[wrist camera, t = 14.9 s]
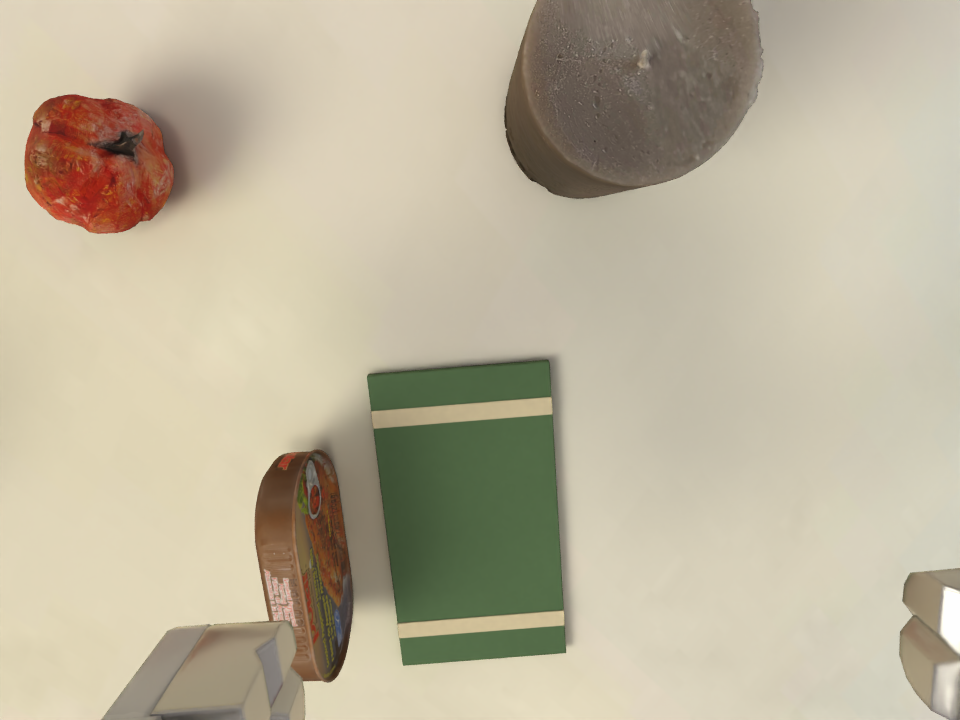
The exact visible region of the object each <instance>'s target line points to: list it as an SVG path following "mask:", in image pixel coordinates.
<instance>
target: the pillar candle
mask: <svg viewBox="0 0 960 720" xmlns="http://www.w3.org/2000/svg"><path fill="white" fill-rule="evenodd" d="M758 23H759V17H758V12H756V11H755V10H754V9H753V7H752V4H751V0H537V2H536V4H535V7H534V9H533V11H532V14H531V16H530V19H529V22H528V25H527V28H526V31H525V34H524V37H523V40H522V43H521V46H520V50H519V53H518V57H517V59H516V63H515V66H514V70H513V73H512V76H511V80H510V83H509V89H508V94H507V97H506V106H505V115H504V122H505V128H506V129H507V130H506V138H507V142H508V144H509V147H510V150H511V153H512V155H513V157H514V159H515V160H516V162H517V164H518V166H519V167H520V168H521V170H522V171H523V172H524V173H525V174H526V176H527V177H528V178H529V179H530V180H531V181H534V182H537V183H538V184H540V185H541V186H544V187H545V188H547V189H548V191H549V192H551V193H553V194H556V195H560V196H563V197H568V198H576V199H583V198H593V197H599V196H604V195H609V194H614V193H618V192H623V191H627V190H632V189H637V188H641V187H646V186H650V185H656V184H659V183H663V182H667V181H670V180H673V179H676V178H679V177H681V176H683V175H685V174H687V173H688V172H690V171H692V170H693V169H695V168H697V167H699V166H700V165H702V164H703V163H704V162H706V161H707V160H709V159H710V158H711V157H712V156H713V155H714V154H715V153H716V152H718V151H719V150H720V149H721V148H722V146H724V145H725V144H726V143H727V141H728V140H729V139H730V137H731V136H732V135H733V134H734V132H735V131H736V129H737V128H738V126H739V125H740V123H741V122H742V120H743V118H744V116H745V114H746V113H747V111H748V109H749V108H750V107H751V106H752V104H753V103H754V102H755V100H756V98H757V93H758V90H757V85H758V84H759V83H760V80H761V78H762V71H763V67H764V66H763V60H762V58H761V55H762V53H763V49H762V47H761V44H760V43H761V40H760V36H759V24H758Z"/></svg>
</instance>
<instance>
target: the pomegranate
mask: <svg viewBox="0 0 960 720" xmlns="http://www.w3.org/2000/svg"><path fill="white" fill-rule="evenodd" d="M173 176H174V169H173V166H172V164H171V162H170V160H169V159H168V157H167V156H166V154H165V152H164V146H163V139H162V134H161V131H160V129H159V127H158V126H157V125H156V124H155V123H154V121H153V120H152V119H151V118H150V117H149V116H148V115H147V114H146V113H144V112H143V111H141V110H140V109H138V108H137V107H135V106H134V105H131V104H128V103H124V102H122V101H119V100H117V99H110V98H108V99H104V100H103V99H93V98H88V97H84V96H80V95H64V96H58V97H56V98H51V99H49V100H47V101H45V102H44V103H43V104H42V105H41V106H40V107H39V108H38V109H37V110H36V112H35V113H34V116H33V126H32V129H31V131H30V134H29V137H28V139H27V144H26V150H25V180H26V187H27V189H28V191H29V192H30V194H31V195H32V197H33V198H34V199H35V200H36V201H37V203H38V204H39V205H40V206H41V207H43V209H45V210H47V211H48V213H49V214H50V215H52V216H53V217H54V218H55V219H57V220H62V221H65V222H67V223H71V224H76V225H78V226H81V227H83V228H85V229H86V230H87V231H89V232H92V233H98V234H100V233H118V232H123V231H126V230H129V229H131V228H132V227H134V226H136V224H138V223H139V222H140V221H150V220H151V219H152V218H153V217H154V216H155V215H156V214H157V213H158V212H159V211H160V210H161V209H162V208H163V206H164V205H165V203H166V201H167V199H168V197H169V194H170V192H171V189H172V185H173Z"/></svg>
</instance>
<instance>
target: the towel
mask: <svg viewBox="0 0 960 720" xmlns="http://www.w3.org/2000/svg"><path fill="white" fill-rule="evenodd" d="M367 381H368V389H369V397H370V405H371V417H372V425H373V429H374V437H375V445H376V453H377V461H378V469H379V477H380V485H381V493H382V501H383V509H384V517H385V525H386V533H387V541H388V549H389V557H390V565H391V573H392V581H393V589H394V598H395V606H396V614H397V622H398V623H397V625H398V633H399V638H400V646H401V654H402V662H403V665H417V664H430V663H443V662H456V661H469V660H481V659H494V658H507V657H520V656H533V655H545V654H558V653H566V644H565V627H564V625H565V622H564V609H563V592H562V574H561V557H560V539H559V521H558V504H557V486H556V469H555V451H554V434H553V416H552V414H553V412H552V397H551V381H550V364H549V361H548V360H538V361H526V362H514V363H501V364H489V365H476V366H464V367H452V368H439V369H427V370H415V371H402V372H390V373H378V374H369V375H368V376H367Z"/></svg>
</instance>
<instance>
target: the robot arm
mask: <svg viewBox="0 0 960 720" xmlns="http://www.w3.org/2000/svg"><path fill="white" fill-rule="evenodd" d="M903 603H904V604H905V605H906V607H907V608H908V609H909V611H910V612H911V613H912V615H913V616H912V617H911V619H910V620H909V621H908V622H907V624H906V625H905V626H904V627H903V629H902V630H901V631H900V650H899V655H900V658H901V662H902V665H903V668H904V671H905V675H906V678H907V679H908V681H909V683H910V684H911V686H912V688H913V689H914V691H915V693H916V694H917V695H918V696H919V698H920V699H921V700H922V701H923V702H924V703H925V704H926V705H927V706H928V708H929V709H930V710H931V711H933V712H935V713H937V714H939V715H941V716H943V717H945V718H947V719H949V720H960V568H955V569H945V570H934V571H924V572H913V573H910V574H909V576H908V578H907V580H906V582H905V584H904V591H903ZM296 651H297V644H296V639H295V634H294V629H293V626H292V625H291V624H290V623H289V621H288V620H280V621H263V622H245V623H227V624H214V625H209V624H207V625H195V626H183V627H176V628H174V629H171V630H169V631H167V632H166V634H165V635H164V636H163V638H162V639H161V640H160V642H159V643H158V644H157V646H156V647H155V648H154V650H153V651H152V652H151V654H150V655H149V656H148V658H147V659H146V660H145V662H144V663H143V664H142V666H141V667H140V668H139V670H138V671H137V672H136V674H135V675H134V676H133V678H132V679H131V680H130V682H129V683H128V684H127V686H126V687H125V688H124V690H123V691H122V693H121V694H120V695H119V697H118V698H117V699H116V701H115V702H114V703H113V705H112V706H111V707H110V709H109V710H108V711H107V713H106V714H105V715H104V717H103V718H102V719H101V720H305V693H304V686H303V679H302V677H301V676H300V675H299V674H298V673H297V672H296V671H295V670H294V669H293V668H292V667H291V663H292V661H293V658H294V656H295V653H296Z"/></svg>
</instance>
